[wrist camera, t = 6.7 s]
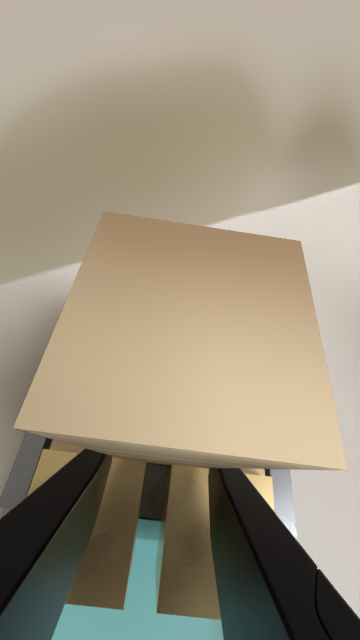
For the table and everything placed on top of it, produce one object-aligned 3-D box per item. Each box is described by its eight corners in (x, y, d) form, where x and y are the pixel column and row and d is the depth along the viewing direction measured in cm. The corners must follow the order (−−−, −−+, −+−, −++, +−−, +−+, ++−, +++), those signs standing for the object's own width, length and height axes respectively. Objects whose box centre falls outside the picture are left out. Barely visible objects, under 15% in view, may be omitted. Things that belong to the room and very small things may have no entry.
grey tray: (253, 518, 16) (297, 541, 11) (45, 494, 15) (-3, 506, 11) (247, 345, 22) (273, 312, 17) (98, 325, 21) (83, 285, 17)
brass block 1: (132, 565, 11) (123, 609, 8) (41, 555, 11) (-8, 596, 8) (147, 462, 13) (145, 461, 10) (71, 453, 13) (43, 448, 10)
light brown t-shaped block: (246, 475, 13) (679, 511, 2) (66, 452, 13) (-377, 378, 2) (244, 415, 15) (501, 271, 4) (84, 394, 14) (-118, 177, 4)
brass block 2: (243, 578, 11) (283, 626, 8) (155, 568, 11) (156, 613, 8) (241, 474, 13) (271, 476, 10) (166, 465, 13) (172, 464, 10)
